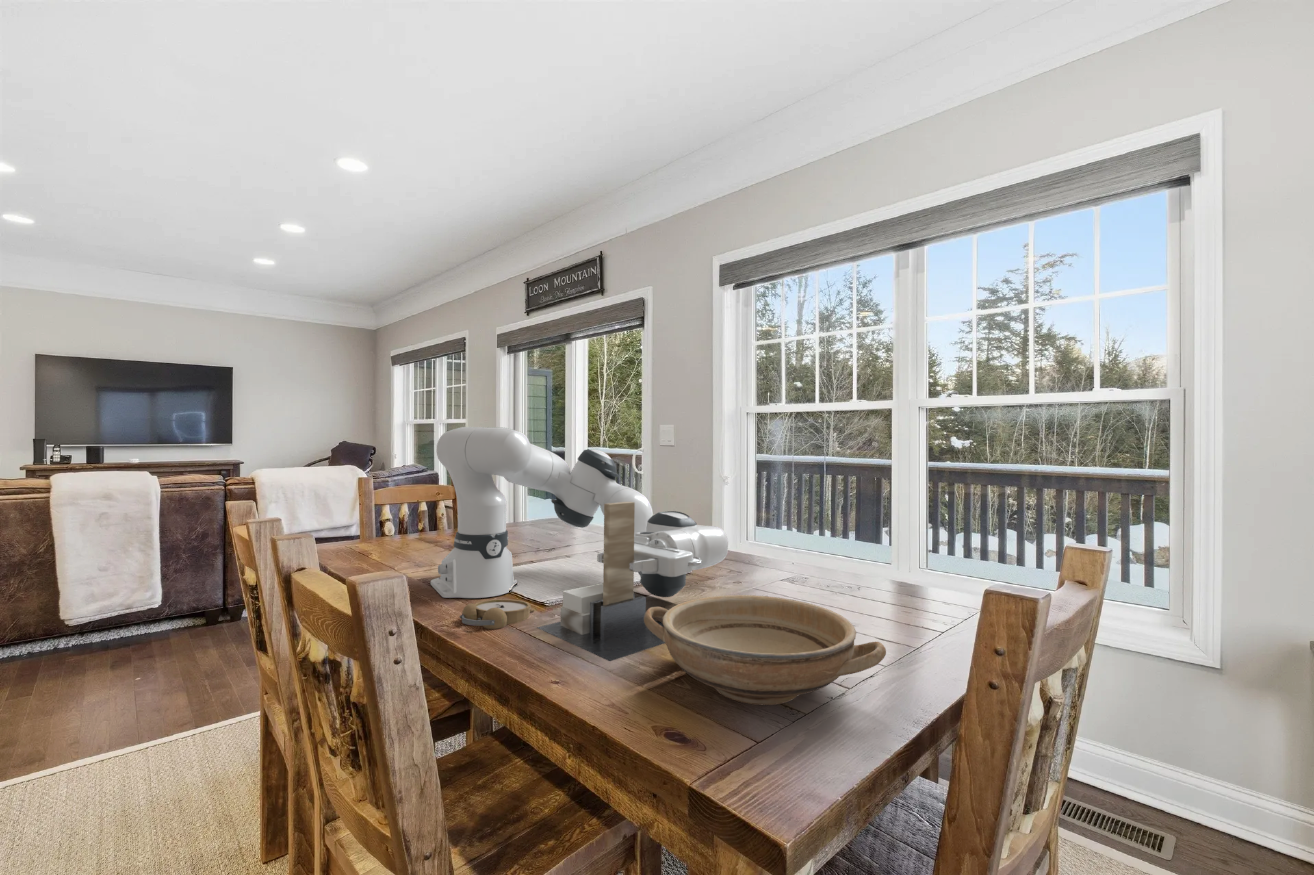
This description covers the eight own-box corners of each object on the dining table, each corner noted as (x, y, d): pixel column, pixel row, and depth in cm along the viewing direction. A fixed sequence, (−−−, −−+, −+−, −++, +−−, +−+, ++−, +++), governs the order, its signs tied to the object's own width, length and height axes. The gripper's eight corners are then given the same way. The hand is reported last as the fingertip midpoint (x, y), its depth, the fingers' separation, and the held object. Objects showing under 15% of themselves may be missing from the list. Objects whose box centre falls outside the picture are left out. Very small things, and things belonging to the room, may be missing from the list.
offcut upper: (562, 606, 113) (563, 591, 113) (603, 597, 120) (604, 582, 120) (581, 614, 109) (581, 597, 109) (622, 603, 116) (623, 588, 116)
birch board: (602, 634, 108) (604, 503, 108) (627, 627, 112) (629, 501, 112) (608, 636, 107) (609, 504, 107) (633, 629, 111) (634, 502, 111)
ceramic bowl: (600, 697, 85) (601, 627, 85) (681, 637, 111) (682, 583, 110) (872, 764, 68) (873, 678, 68) (894, 675, 94) (895, 612, 94)
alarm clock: (542, 604, 121) (493, 609, 108) (539, 629, 120) (489, 637, 107) (500, 596, 126) (447, 601, 113) (497, 620, 125) (444, 628, 112)
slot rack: (536, 632, 112) (537, 595, 112) (618, 611, 125) (618, 578, 125) (609, 667, 96) (610, 624, 96) (694, 638, 109) (694, 601, 109)
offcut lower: (560, 625, 113) (560, 607, 113) (609, 613, 121) (609, 596, 121) (582, 634, 108) (582, 615, 108) (631, 621, 116) (632, 603, 116)
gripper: (706, 578, 111) (653, 591, 102) (635, 560, 126) (582, 570, 117) (707, 544, 111) (653, 554, 102) (635, 530, 126) (583, 538, 116)
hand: (615, 562), depth 109 cm, fingers open, 8 cm apart
